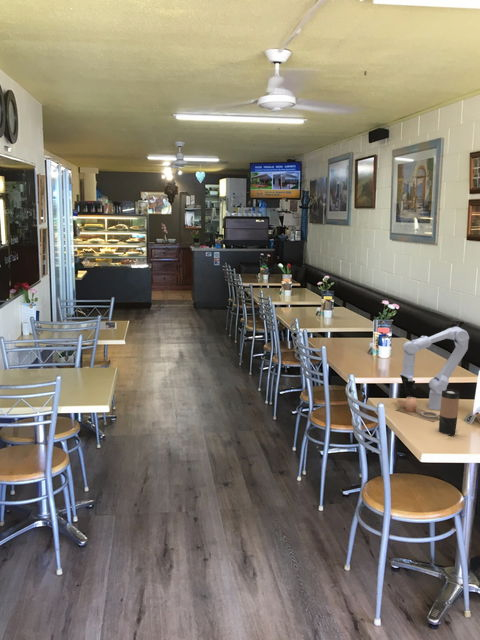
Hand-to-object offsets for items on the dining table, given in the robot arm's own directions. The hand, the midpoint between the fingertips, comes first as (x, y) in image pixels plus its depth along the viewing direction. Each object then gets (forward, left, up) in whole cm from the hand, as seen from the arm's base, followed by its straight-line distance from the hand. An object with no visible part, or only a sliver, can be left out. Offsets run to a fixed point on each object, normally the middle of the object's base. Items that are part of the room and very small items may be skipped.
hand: (406, 391), depth 313 cm
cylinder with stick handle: (+3, +3, -8) cm, 9 cm away
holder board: (+3, +11, -9) cm, 15 cm away
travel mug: (+15, +33, -10) cm, 37 cm away
